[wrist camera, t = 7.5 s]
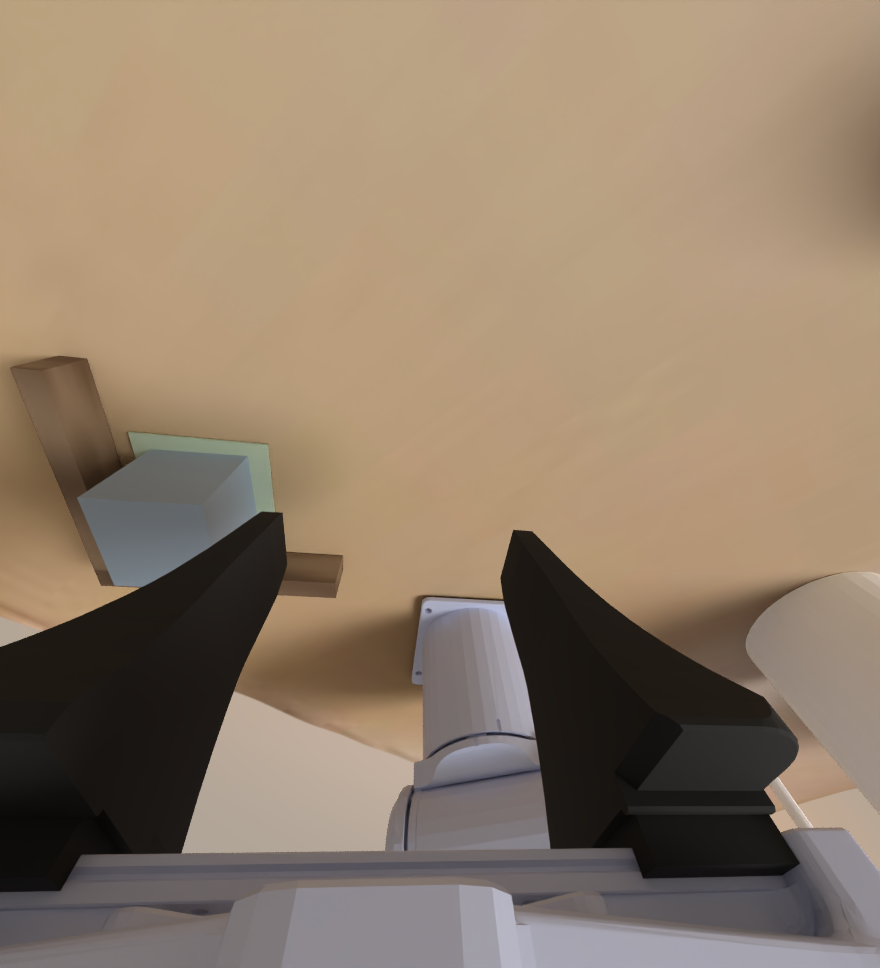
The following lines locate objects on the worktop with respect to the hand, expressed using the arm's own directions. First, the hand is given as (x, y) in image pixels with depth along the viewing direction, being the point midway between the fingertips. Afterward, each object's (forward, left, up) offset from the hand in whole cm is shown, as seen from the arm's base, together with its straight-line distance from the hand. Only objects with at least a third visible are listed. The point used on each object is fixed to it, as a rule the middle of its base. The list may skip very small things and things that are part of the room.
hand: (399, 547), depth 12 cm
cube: (-5, +11, -10) cm, 15 cm away
